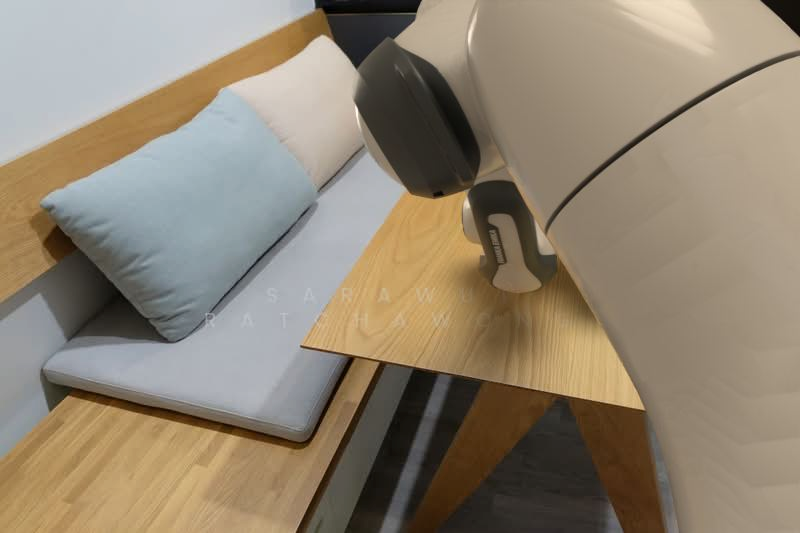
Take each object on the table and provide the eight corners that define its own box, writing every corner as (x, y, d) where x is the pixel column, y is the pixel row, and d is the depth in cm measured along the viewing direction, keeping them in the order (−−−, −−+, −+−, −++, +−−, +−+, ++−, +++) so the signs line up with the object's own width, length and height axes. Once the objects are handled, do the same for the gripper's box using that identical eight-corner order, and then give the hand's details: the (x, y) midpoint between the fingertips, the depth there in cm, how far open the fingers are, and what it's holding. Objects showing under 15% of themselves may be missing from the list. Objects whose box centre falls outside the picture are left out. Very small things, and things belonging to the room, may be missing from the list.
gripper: (582, 242, 67) (699, 244, 64) (570, 169, 83) (663, 169, 80) (577, 280, 71) (687, 284, 68) (566, 204, 87) (655, 204, 84)
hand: (674, 221), depth 74 cm, fingers closed on doll, 6 cm apart
